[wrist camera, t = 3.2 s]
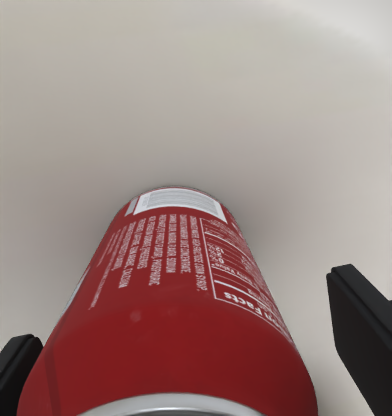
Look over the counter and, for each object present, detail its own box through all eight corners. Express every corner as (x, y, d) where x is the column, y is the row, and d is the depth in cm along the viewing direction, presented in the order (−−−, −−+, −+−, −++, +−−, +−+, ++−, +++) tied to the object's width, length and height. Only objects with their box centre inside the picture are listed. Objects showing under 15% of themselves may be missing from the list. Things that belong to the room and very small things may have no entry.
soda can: (129, 163, 16) (7, 323, 5) (260, 207, 17) (431, 429, 6) (92, 284, 18) (-60, 615, 6) (213, 317, 19) (267, 655, 7)
